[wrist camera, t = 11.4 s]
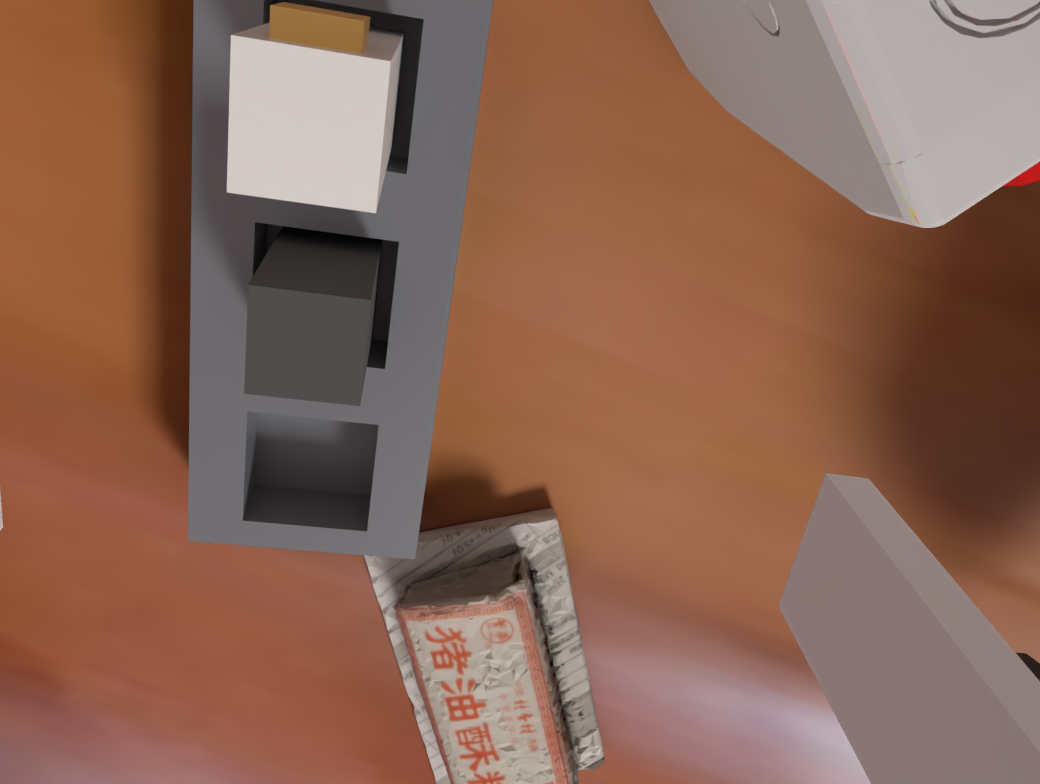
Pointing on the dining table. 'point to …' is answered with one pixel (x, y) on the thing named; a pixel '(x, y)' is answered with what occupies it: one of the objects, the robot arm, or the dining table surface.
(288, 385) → the dark grey block
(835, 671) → the robot arm
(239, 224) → the socket strip
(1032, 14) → the electrical switch box
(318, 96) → the plug
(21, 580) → the dining table surface
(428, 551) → the packaged product
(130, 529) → the dining table surface
